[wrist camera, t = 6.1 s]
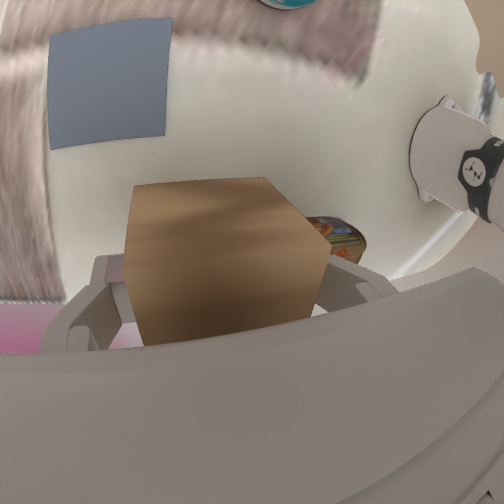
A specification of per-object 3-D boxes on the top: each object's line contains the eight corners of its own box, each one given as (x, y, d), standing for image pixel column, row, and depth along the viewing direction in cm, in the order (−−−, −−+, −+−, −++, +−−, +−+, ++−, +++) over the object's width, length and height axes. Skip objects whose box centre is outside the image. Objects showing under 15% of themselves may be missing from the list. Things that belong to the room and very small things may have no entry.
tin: (344, 215, 37) (380, 248, 31) (339, 234, 39) (372, 269, 33) (239, 221, 33) (262, 263, 26) (238, 243, 35) (259, 288, 28)
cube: (264, 177, 11) (332, 245, 7) (253, 276, 14) (295, 359, 10) (134, 185, 9) (122, 270, 5) (149, 290, 12) (158, 386, 8)
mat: (172, 19, 18) (172, 17, 17) (165, 134, 24) (165, 135, 24) (53, 36, 14) (50, 35, 14) (53, 148, 21) (50, 150, 20)
